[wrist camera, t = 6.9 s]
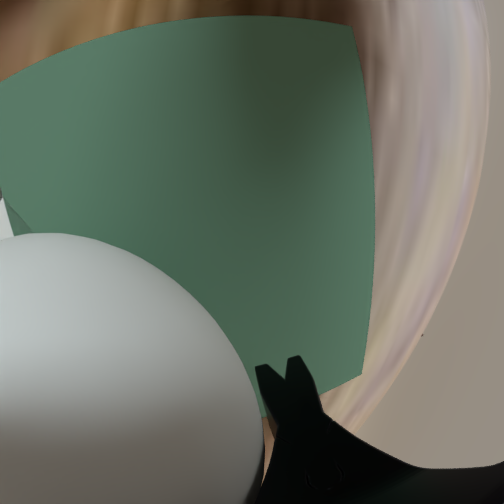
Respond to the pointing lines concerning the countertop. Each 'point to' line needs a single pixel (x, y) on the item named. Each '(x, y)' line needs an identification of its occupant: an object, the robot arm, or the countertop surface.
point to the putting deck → (212, 174)
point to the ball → (117, 384)
